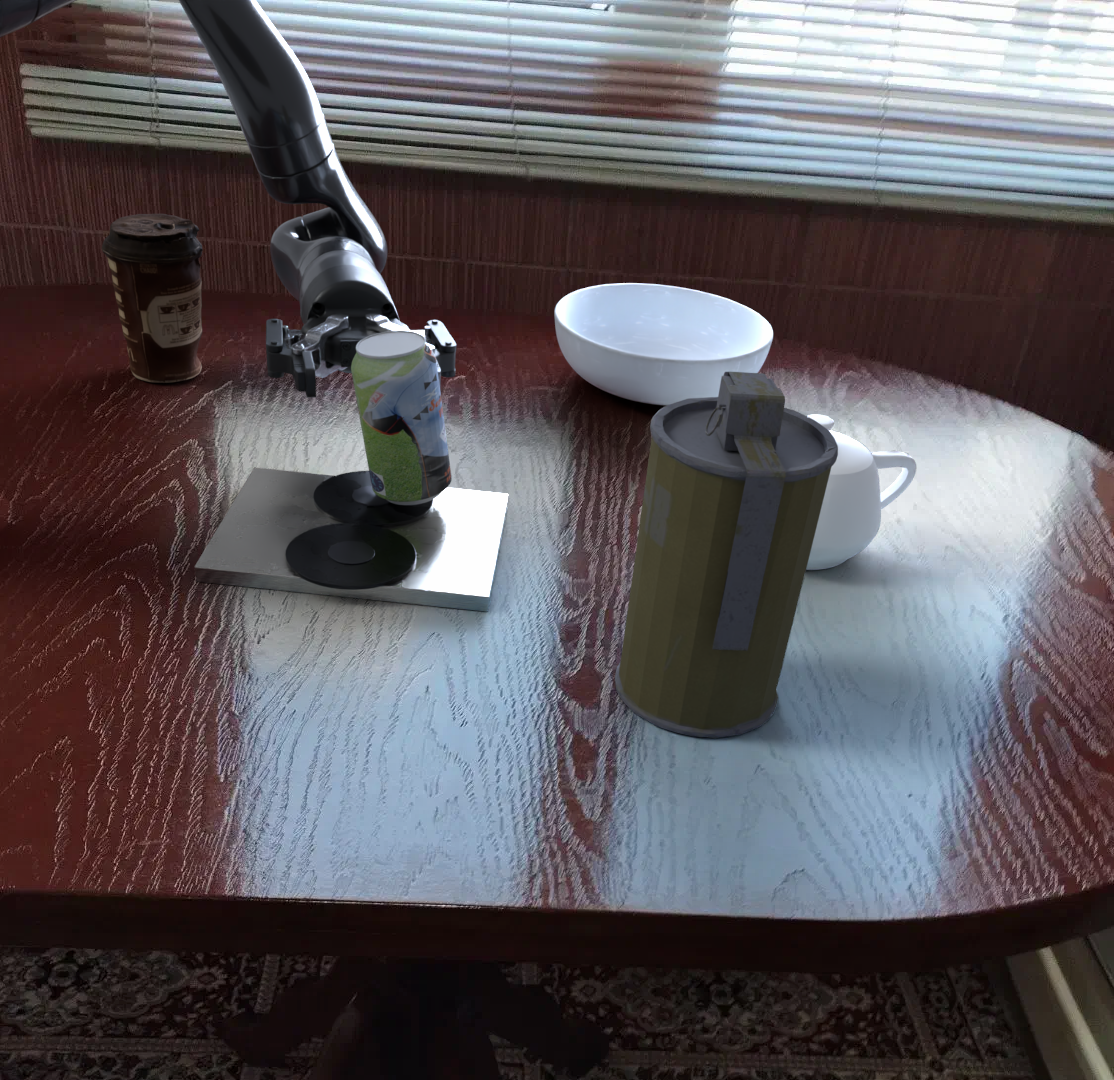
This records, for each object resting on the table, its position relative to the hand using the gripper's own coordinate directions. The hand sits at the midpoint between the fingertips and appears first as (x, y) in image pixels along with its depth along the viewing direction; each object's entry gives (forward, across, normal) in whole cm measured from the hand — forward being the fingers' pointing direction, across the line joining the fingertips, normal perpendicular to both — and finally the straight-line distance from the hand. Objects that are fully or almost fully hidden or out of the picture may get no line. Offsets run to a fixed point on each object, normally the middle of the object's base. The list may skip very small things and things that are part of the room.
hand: (371, 384), depth 88 cm
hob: (+6, -1, +10) cm, 11 cm away
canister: (+27, +17, +10) cm, 34 cm away
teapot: (+9, +31, +10) cm, 34 cm away
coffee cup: (-28, -15, +10) cm, 33 cm away
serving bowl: (-23, +30, +10) cm, 39 cm away
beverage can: (+2, +2, +8) cm, 9 cm away
